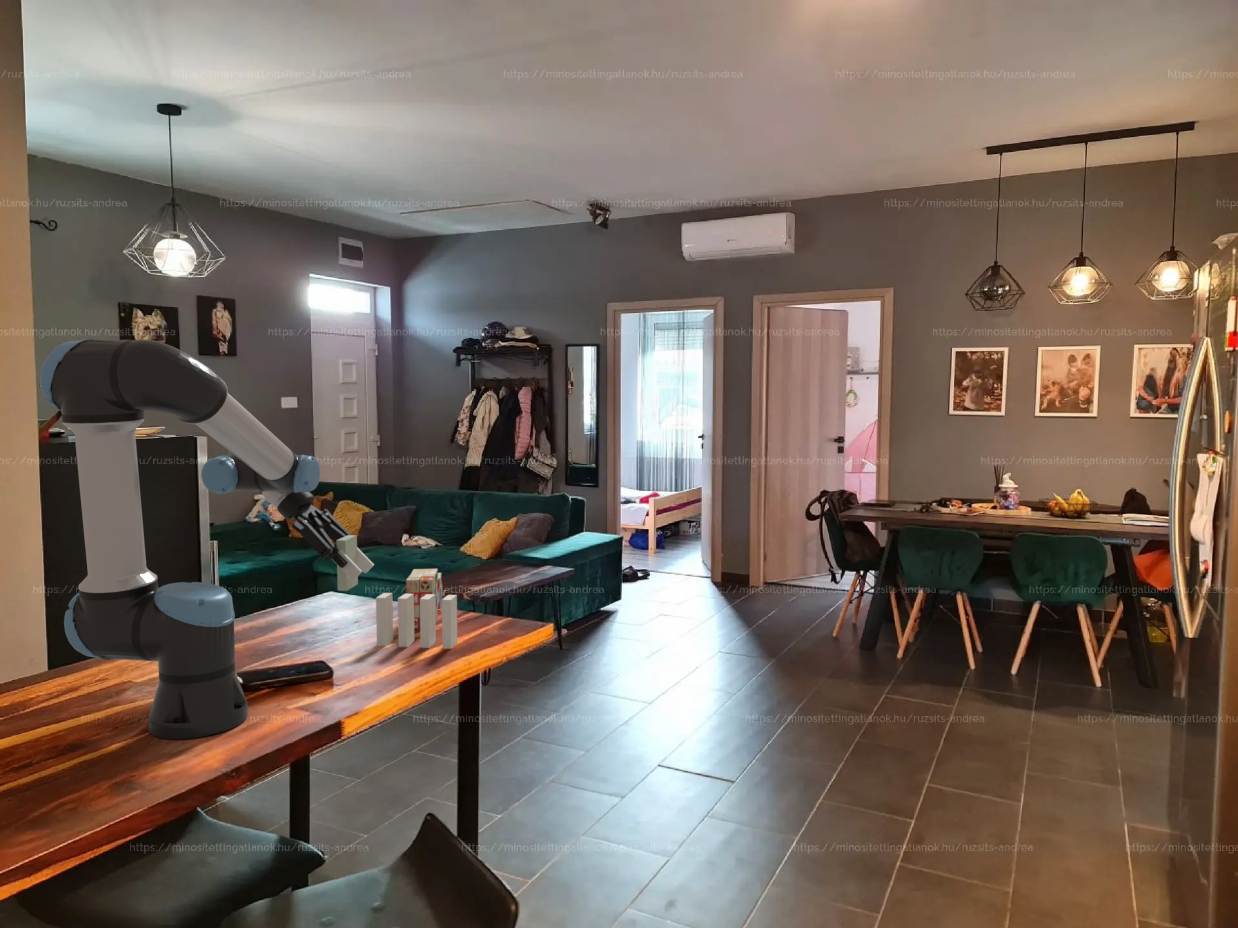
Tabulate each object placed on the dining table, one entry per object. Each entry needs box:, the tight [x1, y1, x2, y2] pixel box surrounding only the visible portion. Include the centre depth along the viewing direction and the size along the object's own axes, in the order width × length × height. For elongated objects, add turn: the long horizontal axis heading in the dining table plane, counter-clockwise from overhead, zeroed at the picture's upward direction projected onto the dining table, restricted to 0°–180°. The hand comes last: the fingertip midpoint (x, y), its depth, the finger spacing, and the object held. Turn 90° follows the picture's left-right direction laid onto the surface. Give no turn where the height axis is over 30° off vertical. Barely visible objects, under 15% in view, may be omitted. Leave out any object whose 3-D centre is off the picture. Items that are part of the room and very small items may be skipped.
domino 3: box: [419, 594, 437, 649], centre depth 187 cm, size 2×5×11 cm, turn 175°
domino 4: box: [441, 594, 458, 650], centre depth 187 cm, size 2×5×11 cm, turn 175°
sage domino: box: [335, 534, 359, 592], centre depth 183 cm, size 2×6×11 cm, turn 175°
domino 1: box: [375, 592, 394, 647], centre depth 188 cm, size 2×5×11 cm, turn 175°
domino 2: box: [397, 593, 415, 648], centre depth 188 cm, size 2×5×11 cm, turn 175°
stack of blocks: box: [405, 568, 443, 630], centre depth 210 cm, size 21×6×12 cm, turn 6°
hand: (363, 572), depth 182 cm, fingers closed on sage domino, 6 cm apart
